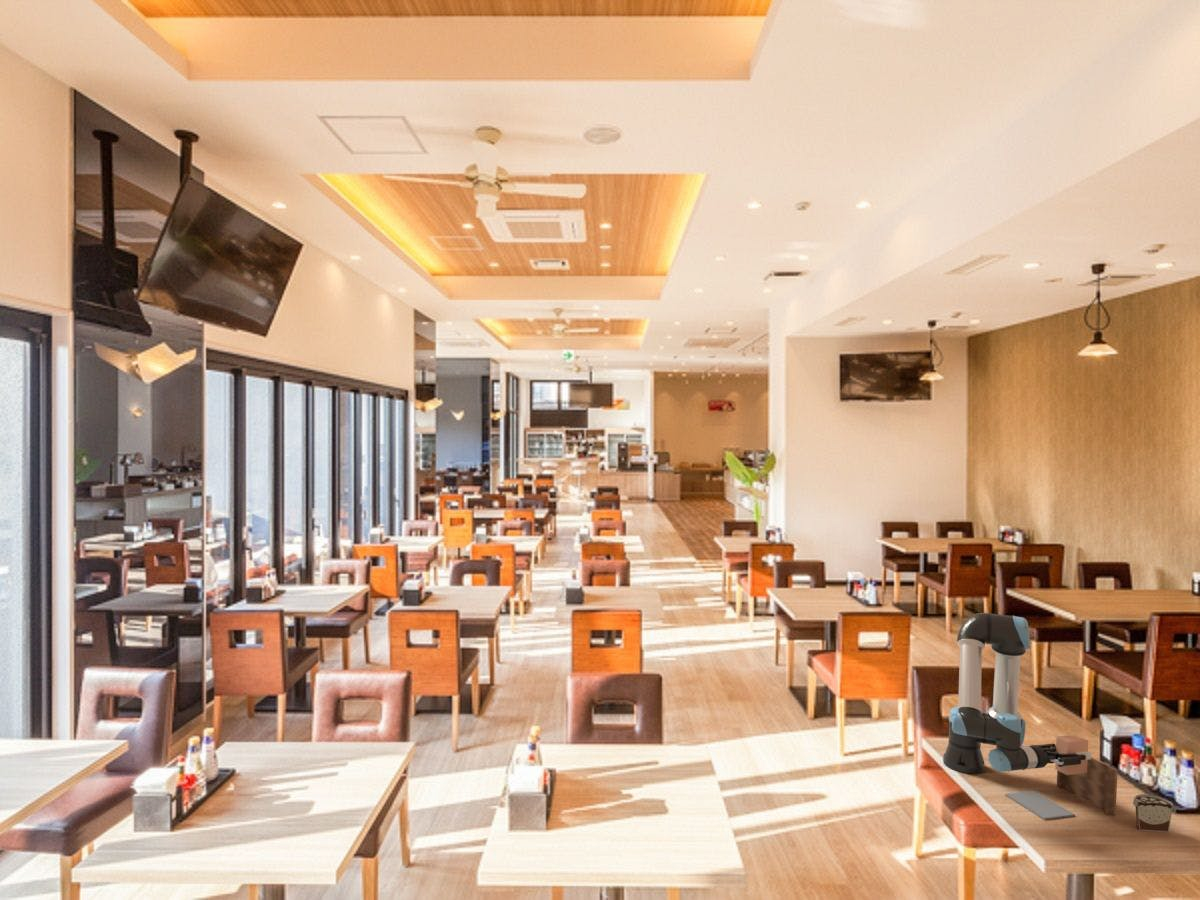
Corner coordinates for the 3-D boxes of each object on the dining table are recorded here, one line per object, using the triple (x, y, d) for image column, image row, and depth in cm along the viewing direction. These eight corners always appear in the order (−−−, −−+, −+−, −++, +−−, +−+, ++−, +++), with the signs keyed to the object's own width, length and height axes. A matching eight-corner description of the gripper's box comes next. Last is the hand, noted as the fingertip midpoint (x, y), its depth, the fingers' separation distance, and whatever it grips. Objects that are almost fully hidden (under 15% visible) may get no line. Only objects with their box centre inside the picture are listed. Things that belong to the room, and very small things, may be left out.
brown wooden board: (1056, 786, 292) (1058, 745, 291) (1064, 785, 293) (1066, 744, 292) (1107, 815, 271) (1109, 770, 270) (1115, 814, 271) (1117, 769, 271)
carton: (1055, 769, 281) (1056, 736, 281) (1075, 766, 283) (1076, 734, 283) (1066, 775, 276) (1067, 742, 276) (1086, 772, 278) (1088, 740, 278)
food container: (1161, 823, 266) (1163, 794, 266) (1173, 832, 260) (1174, 803, 260) (1124, 820, 267) (1125, 792, 267) (1134, 829, 261) (1135, 800, 261)
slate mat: (1005, 795, 284) (1005, 793, 284) (1034, 792, 287) (1034, 790, 287) (1043, 819, 267) (1043, 818, 267) (1074, 816, 270) (1074, 814, 270)
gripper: (1010, 756, 284) (1062, 751, 290) (1050, 778, 266) (1104, 773, 272) (1011, 736, 284) (1063, 732, 289) (1051, 757, 266) (1105, 752, 272)
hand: (1083, 751), depth 281 cm, fingers closed on carton, 5 cm apart
